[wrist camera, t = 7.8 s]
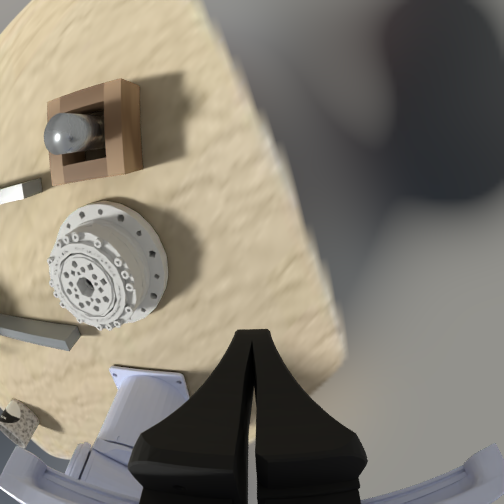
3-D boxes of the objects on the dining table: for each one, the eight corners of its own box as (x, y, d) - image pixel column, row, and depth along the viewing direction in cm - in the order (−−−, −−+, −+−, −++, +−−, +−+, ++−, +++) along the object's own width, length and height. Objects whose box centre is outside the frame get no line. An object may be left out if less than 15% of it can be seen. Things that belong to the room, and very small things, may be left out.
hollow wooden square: (143, 169, 18) (124, 174, 15) (75, 179, 18) (52, 186, 16) (139, 86, 16) (120, 78, 13) (70, 104, 16) (47, 102, 13)
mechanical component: (188, 302, 22) (141, 180, 19) (175, 336, 18) (113, 192, 15) (95, 321, 23) (49, 223, 20) (73, 350, 19) (16, 240, 16)
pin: (118, 145, 18) (75, 150, 12) (91, 151, 18) (45, 158, 12) (117, 113, 17) (73, 108, 12) (89, 120, 17) (43, 118, 12)
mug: (23, 400, 31) (6, 426, 24) (45, 425, 33) (32, 451, 27) (-1, 394, 32) (-17, 416, 25) (19, 418, 34) (6, 440, 28)
